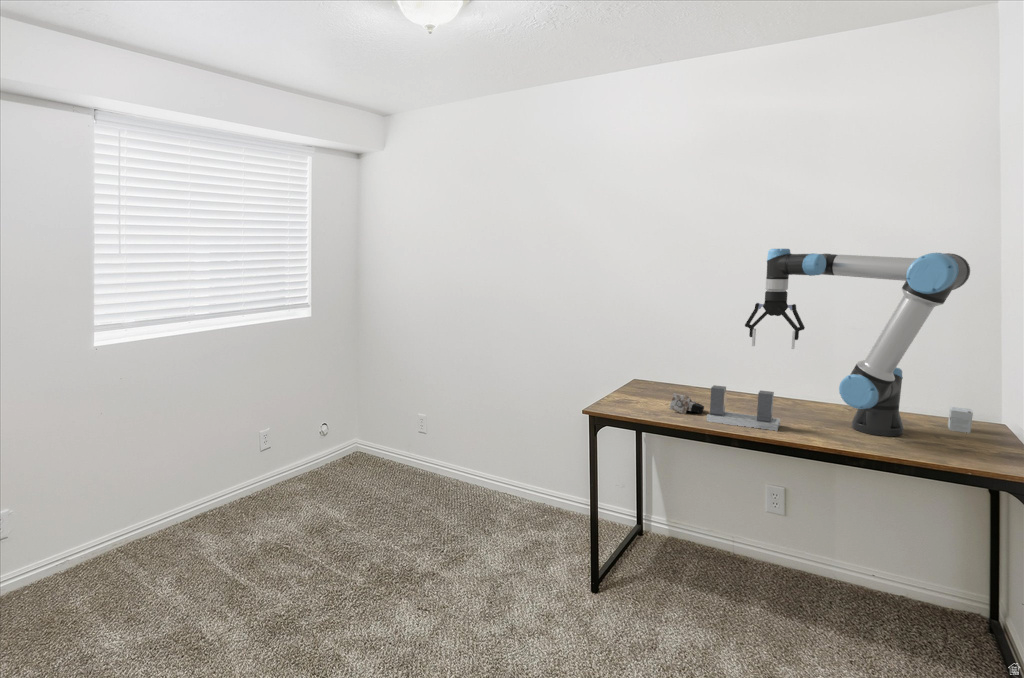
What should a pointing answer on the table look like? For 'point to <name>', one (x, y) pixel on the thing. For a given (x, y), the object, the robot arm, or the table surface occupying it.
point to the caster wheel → (684, 404)
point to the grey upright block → (765, 406)
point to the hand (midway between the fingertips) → (772, 347)
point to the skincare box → (960, 419)
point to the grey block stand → (732, 418)
